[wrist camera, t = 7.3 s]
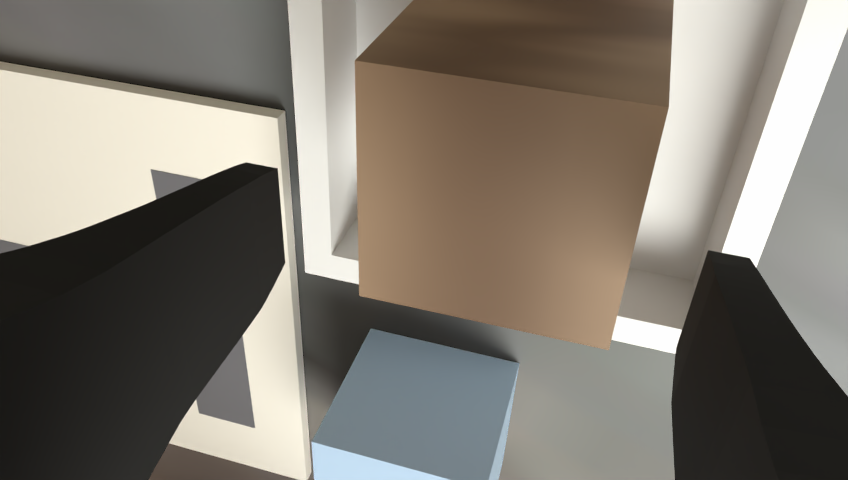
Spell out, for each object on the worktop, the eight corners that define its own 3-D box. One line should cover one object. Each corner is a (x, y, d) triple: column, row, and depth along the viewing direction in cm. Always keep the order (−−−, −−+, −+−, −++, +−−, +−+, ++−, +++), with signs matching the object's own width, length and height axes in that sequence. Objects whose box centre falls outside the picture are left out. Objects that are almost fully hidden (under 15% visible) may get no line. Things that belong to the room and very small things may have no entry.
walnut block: (674, -9, 16) (669, 107, 11) (628, 191, 19) (608, 350, 14) (447, -36, 17) (354, 60, 12) (437, 158, 20) (359, 295, 15)
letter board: (285, 111, 21) (277, 118, 20) (311, 472, 30) (306, 482, 30) (-172, 31, 24) (-188, 36, 24) (-21, 380, 33) (-30, 388, 33)
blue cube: (519, 361, 24) (486, 489, 20) (502, 461, 27) (470, 590, 23) (371, 326, 25) (311, 441, 21) (370, 426, 28) (318, 543, 24)
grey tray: (875, -149, 14) (906, -128, 12) (716, 300, 20) (719, 363, 18) (325, -195, 16) (275, -183, 14) (338, 224, 23) (305, 272, 21)
